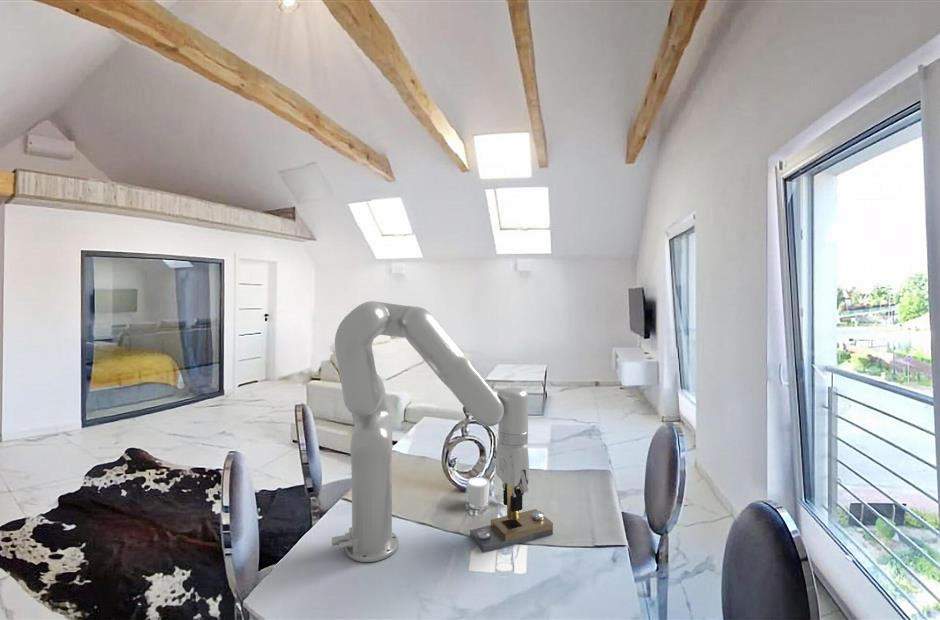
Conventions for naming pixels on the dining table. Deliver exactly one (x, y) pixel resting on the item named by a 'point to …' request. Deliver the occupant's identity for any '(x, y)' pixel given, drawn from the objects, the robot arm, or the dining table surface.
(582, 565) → the dining table surface
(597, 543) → the dining table surface
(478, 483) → the white pillar candle
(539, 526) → the bolted fixture plate
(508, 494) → the brass pin
